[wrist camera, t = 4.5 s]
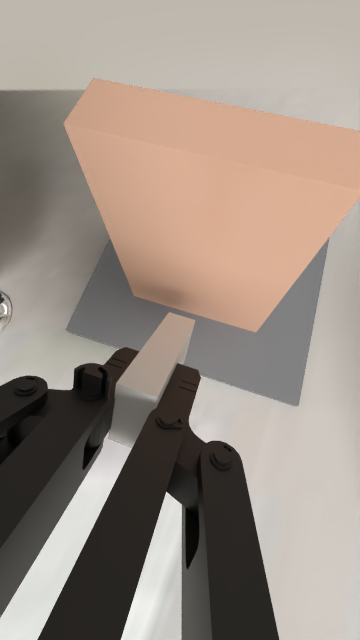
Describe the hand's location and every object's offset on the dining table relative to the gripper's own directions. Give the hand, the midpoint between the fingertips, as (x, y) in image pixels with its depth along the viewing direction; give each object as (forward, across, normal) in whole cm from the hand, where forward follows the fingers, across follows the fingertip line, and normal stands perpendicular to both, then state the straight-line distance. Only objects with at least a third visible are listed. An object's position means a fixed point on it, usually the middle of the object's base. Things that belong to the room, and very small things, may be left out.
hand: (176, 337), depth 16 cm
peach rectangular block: (+8, 0, 0) cm, 8 cm away
